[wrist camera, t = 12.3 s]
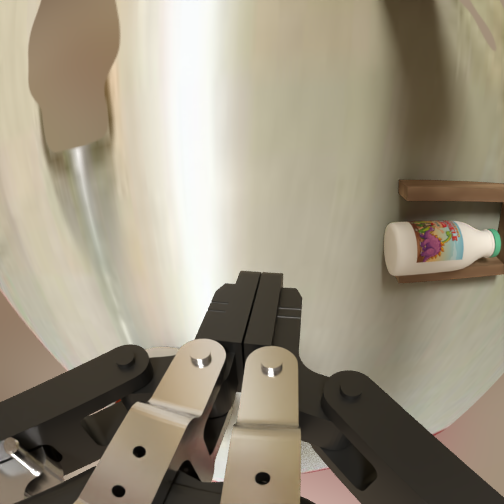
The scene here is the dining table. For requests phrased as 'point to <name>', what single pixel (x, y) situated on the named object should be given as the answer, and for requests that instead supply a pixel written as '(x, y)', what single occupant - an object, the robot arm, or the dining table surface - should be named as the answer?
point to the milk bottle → (436, 246)
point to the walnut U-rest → (457, 192)
